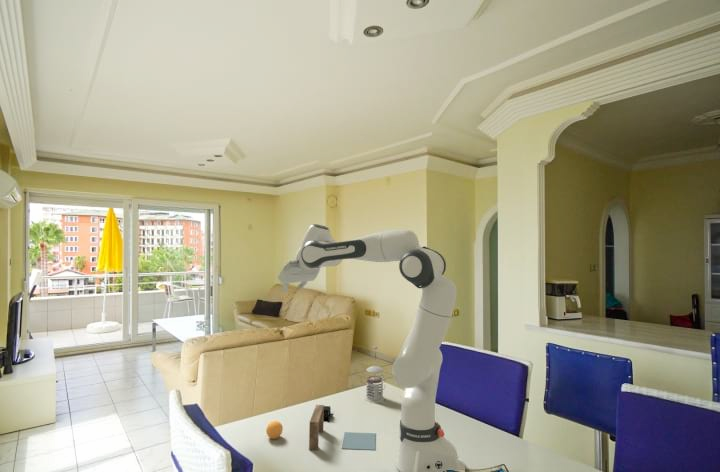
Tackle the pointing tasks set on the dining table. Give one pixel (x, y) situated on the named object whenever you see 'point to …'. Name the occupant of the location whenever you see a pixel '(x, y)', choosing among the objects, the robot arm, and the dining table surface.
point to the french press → (374, 385)
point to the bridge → (316, 426)
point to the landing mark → (359, 441)
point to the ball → (274, 429)
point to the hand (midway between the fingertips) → (292, 289)
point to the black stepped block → (327, 414)
